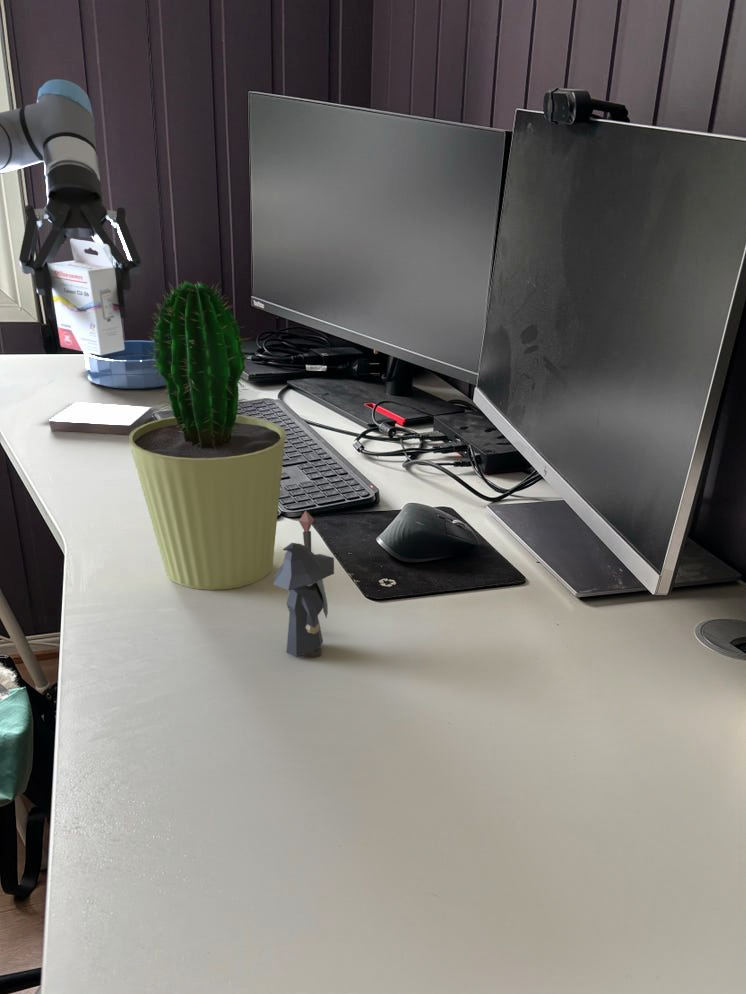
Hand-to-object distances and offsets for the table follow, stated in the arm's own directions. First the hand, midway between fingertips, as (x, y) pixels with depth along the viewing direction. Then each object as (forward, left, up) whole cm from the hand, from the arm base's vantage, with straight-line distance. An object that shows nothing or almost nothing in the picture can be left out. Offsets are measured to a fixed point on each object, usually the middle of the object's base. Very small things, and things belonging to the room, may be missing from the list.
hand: (86, 312), depth 136 cm
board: (-1, +3, -17) cm, 17 cm away
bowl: (-5, +30, -17) cm, 35 cm away
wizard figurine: (+42, -62, -17) cm, 77 cm away
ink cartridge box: (-1, +3, -6) cm, 7 cm away
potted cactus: (+30, -46, -17) cm, 58 cm away
